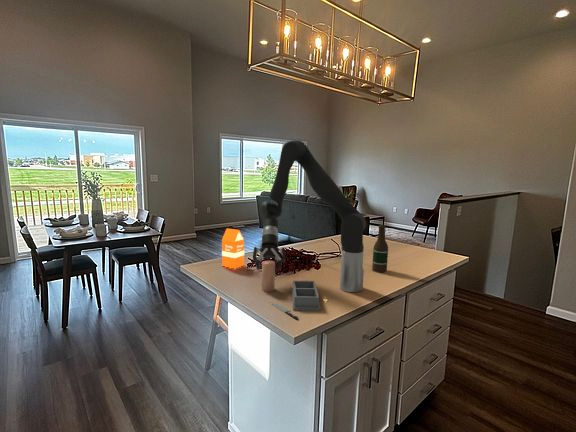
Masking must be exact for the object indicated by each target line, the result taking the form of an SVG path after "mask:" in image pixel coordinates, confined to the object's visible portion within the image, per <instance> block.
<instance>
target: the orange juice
mask: <svg viewBox="0 0 576 432" xmlns="http://www.w3.org/2000/svg"><path fill="white" fill-rule="evenodd" d="M221 257H222V258H221V260H222V261H221V262H222V263H221V264H222V265H221V267H222V266H225V267H224V268H226V267H229V268H228V269H231V268H234V269H233V270H237V269H236V268H238V267H240V268H242V267H241V266H243V265H244V266H245V239H244V237H243V235H242V233H241V231H240V229H234V228H226V229H225V232H224V233H223V237H222V239H221ZM244 266H243V267H244ZM238 269H239V268H238Z"/></svg>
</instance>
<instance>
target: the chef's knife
mask: <svg viewBox="0 0 576 432" xmlns="http://www.w3.org/2000/svg"><path fill="white" fill-rule="evenodd" d="M268 303H269V304H271V305H272V306H274V307H275V308H277V310H280V312H281V311H282V312H283V313H284V314H286V315H288V316H289V317H291V318H293V319H294V320H297V321H298V320H299V317H298V316H296V315H294V314H293V313H291V311H292V310H291V309H289V308H286V307H285V306H283V305H281V304H278V303H275V302H272V301H269V302H268Z"/></svg>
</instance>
